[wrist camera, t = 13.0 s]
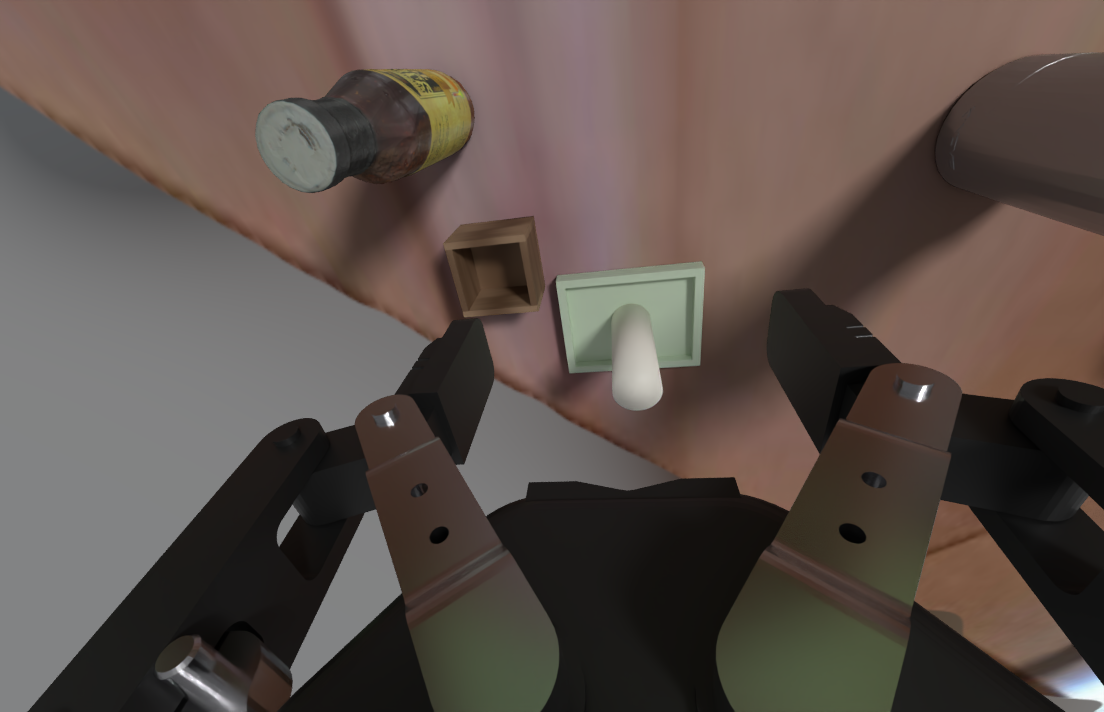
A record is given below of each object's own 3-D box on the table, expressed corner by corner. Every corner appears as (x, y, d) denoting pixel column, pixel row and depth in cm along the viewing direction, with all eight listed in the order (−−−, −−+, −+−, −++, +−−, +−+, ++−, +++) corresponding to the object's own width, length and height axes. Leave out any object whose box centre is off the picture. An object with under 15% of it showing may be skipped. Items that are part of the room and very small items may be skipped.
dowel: (649, 301, 43) (662, 369, 33) (650, 336, 46) (663, 409, 36) (609, 305, 44) (610, 372, 34) (612, 338, 46) (614, 411, 36)
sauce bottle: (472, 67, 35) (351, 64, 18) (481, 153, 38) (386, 215, 22) (394, 70, 35) (208, 69, 19) (410, 154, 39) (265, 215, 22)
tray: (701, 261, 41) (704, 267, 40) (697, 357, 47) (700, 365, 46) (557, 275, 44) (555, 281, 42) (570, 365, 49) (569, 373, 48)
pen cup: (533, 216, 41) (524, 234, 36) (545, 286, 44) (538, 311, 40) (460, 224, 42) (443, 243, 37) (478, 292, 46) (464, 317, 41)
